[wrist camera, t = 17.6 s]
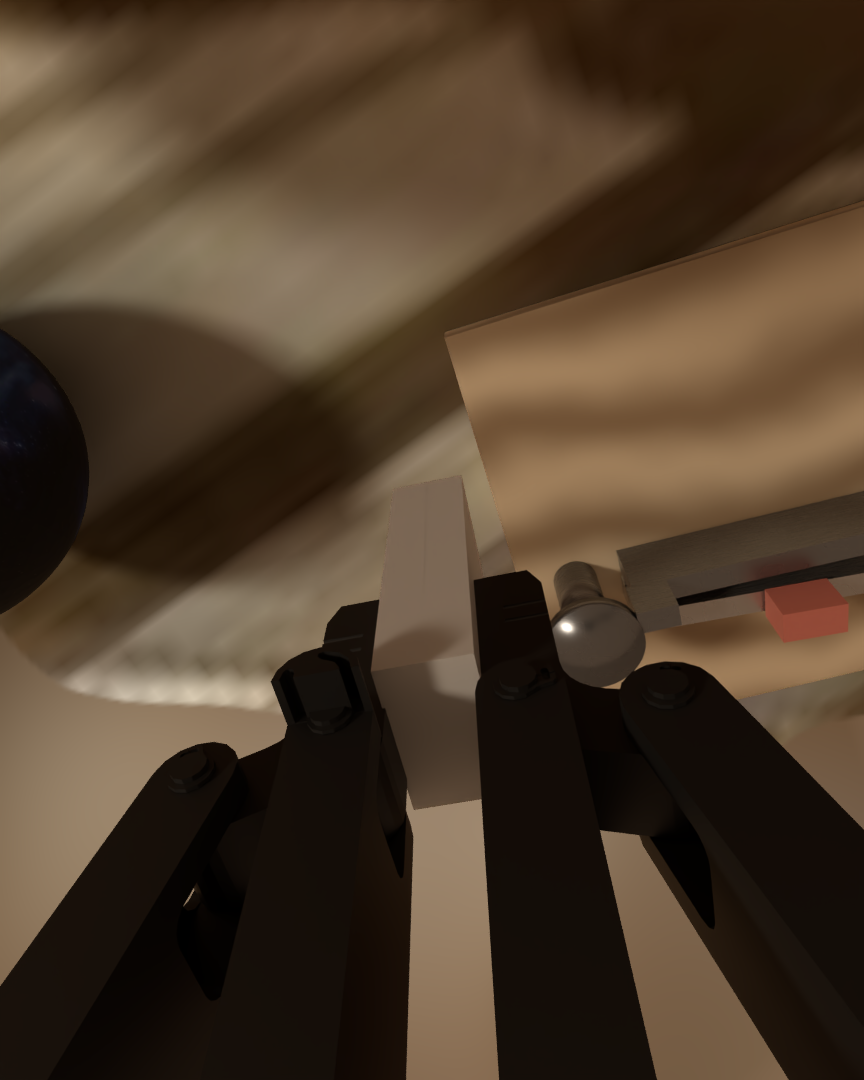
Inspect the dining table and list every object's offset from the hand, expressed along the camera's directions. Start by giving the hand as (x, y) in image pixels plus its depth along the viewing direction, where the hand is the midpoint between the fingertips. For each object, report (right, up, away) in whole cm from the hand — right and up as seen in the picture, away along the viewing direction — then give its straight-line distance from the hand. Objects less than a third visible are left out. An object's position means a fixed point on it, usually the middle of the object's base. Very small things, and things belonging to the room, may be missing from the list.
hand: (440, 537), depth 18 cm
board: (+15, +2, +26) cm, 30 cm away
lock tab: (+18, -3, +23) cm, 29 cm away
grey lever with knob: (+15, -1, +26) cm, 30 cm away
